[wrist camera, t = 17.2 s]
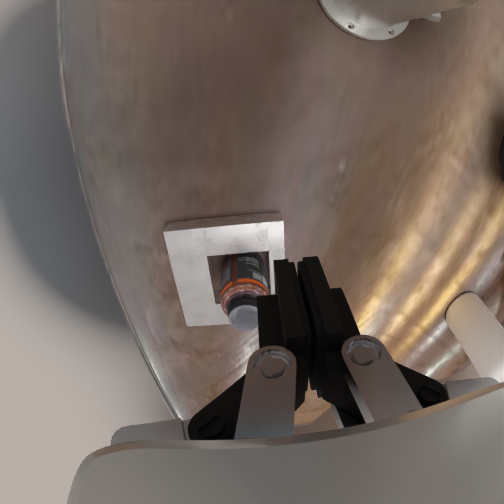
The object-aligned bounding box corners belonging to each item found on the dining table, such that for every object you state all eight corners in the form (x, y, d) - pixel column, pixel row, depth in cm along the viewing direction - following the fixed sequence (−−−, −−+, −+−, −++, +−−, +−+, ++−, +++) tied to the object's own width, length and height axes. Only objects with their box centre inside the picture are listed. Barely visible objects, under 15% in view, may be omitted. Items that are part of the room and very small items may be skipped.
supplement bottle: (222, 282, 45) (219, 337, 35) (222, 247, 42) (217, 298, 32) (263, 283, 46) (269, 337, 36) (265, 247, 43) (273, 298, 33)
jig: (280, 211, 40) (283, 220, 37) (283, 306, 48) (285, 319, 45) (168, 222, 40) (163, 231, 37) (189, 313, 48) (187, 326, 45)
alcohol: (444, 301, 50) (521, 423, 24) (477, 283, 48) (559, 392, 22) (443, 329, 54) (505, 442, 28) (474, 313, 52) (541, 415, 26)
